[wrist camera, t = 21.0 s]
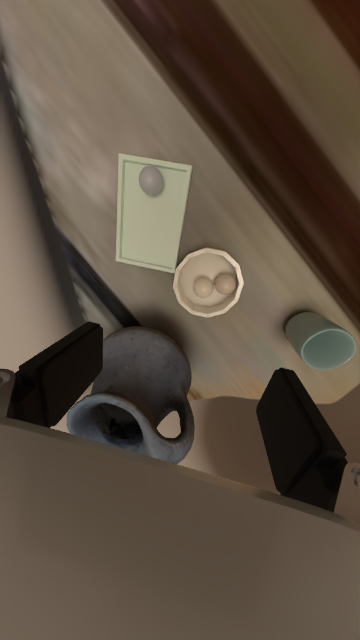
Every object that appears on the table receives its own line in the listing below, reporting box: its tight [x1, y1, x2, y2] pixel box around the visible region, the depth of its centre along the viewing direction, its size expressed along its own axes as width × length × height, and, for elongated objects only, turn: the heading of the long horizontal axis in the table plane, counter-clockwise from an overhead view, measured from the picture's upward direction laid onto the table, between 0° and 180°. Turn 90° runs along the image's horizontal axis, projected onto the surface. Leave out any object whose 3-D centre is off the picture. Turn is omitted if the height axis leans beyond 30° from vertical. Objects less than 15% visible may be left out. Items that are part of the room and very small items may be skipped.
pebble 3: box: [215, 274, 236, 295], centre depth 35 cm, size 4×4×4 cm
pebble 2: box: [193, 278, 214, 298], centre depth 36 cm, size 4×4×4 cm
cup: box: [285, 312, 356, 370], centre depth 34 cm, size 8×8×10 cm
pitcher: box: [67, 326, 194, 464], centre depth 35 cm, size 21×22×25 cm
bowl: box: [173, 247, 244, 318], centre depth 36 cm, size 12×12×4 cm
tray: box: [116, 153, 193, 273], centre depth 34 cm, size 17×12×2 cm
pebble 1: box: [139, 166, 163, 196], centre depth 30 cm, size 4×4×4 cm
